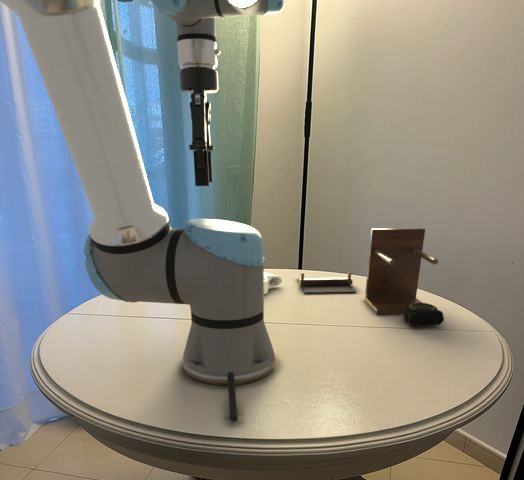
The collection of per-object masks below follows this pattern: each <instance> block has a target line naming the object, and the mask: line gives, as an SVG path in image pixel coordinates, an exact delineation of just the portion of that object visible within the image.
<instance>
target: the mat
mask: <svg viewBox="0 0 524 480" xmlns="http://www.w3.org/2000/svg"><path fill="white" fill-rule="evenodd" d="M300 278H301V277H300ZM300 278H297V280H298V281H299V280H300ZM300 287H301V288H302V291H303V293H304V294H305V295H313V294H314V295H317V294H321V295H322V294H356V293H357V291H356V290H355V288H354V287H353V286H352V285H315V286H300Z"/></svg>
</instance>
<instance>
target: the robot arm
mask: <svg viewBox="0 0 524 480" xmlns="http://www.w3.org/2000/svg"><path fill="white" fill-rule="evenodd" d="M150 2H151V3H152V4H153V6H154V7H155V8H157V10H158V11H159V12H160V13H161V14H162V15H163V16H166V17H168V18H169V19H171V20H172V21H174V22H175V25H176V37H177V41H176V42H177V43H176V47H177V60H178V66H179V67H180V68H181V69H180V70H179V73H178V74H179V86H180V90H181V91H182V92H183V93H184V94H185V93H186V94H190V100H191V101H189V108H190V109H189V111H190V120H191V140H192V141H191V144H189V145H188V146H189V151H193V152H192V153H193V170H194V186H195V187H209V186H210V183H213V165H212V164H213V162H212V152H213V151H214V150H215V146H214V145H212V141H211V128H210V125H211V113H212V107H211V102H210V101H209V100H207V94H215V93H217V92H218V91H219V73H218V71H217V70H216V68H217V67H218V57H217V56H219V55H220V54H221V50H220V49H219V48H217V18H227V17H244V16H245V17H246V16H247V17H248V16H262V17H265V16H267V15H273V14H279V13H281V12H282V11H283V10H284V7H285V4H286V0H150ZM0 3H1V4H2V5H4V6H6V7H7V8H8V9H10V10H11V11H12V12H14V13H15V15H16V16H17V17H18V19H19V21H20V23H21V26H22V29H23V31H24V34H25V36H26V39H27V42H28V44H29V47H30V49H31V52H32V55H33V57H34V61H35V64H36V66H37V69H38V71H39V73H40V74H39V75H40V76H41V79H42V82H43V84H44V87H45V90H46V92H47V95H48V98H49V100H50V103H51V106H52V107H53V110H54V114H55V116H56V119H57V121H58V124H59V126H60V129H61V132H62V134H63V137H64V140H65V142H66V144H67V148H68V150H69V153H70V156H71V158H72V161H73V163H74V166H75V168H76V171H77V173H78V176H79V179H80V181H81V185H82V188H83V190H84V192H85V196H86V198H87V201H88V203H89V206H90V208H91V211H92V213H93V216H94V218H93V220H92V222H91V223H90V225H89V228H88V235H87V236H86V239H85V243H84V246H83V247H84V248H83V255H84V256H85V257H86V259H85V260H84V265H85V266H84V267H85V270H86V274H87V276H88V278H89V281H90V282H91V284H92V286H94V288H95V289H96V290H97V291H98V292H99V293H100V294H101V295H102V296H104V297H105V298H108V299H109V300H116V301H122V302H125V303H138V302H139V303H156V304H157V303H158V304H173V305H188V306H189V308H190V318H191V319H190V321H191V324H190V328H189V332H188V336H187V339H186V344H185V347H184V351H183V354H182V355H183V357H182V364H183V365H182V366H183V370H184V373H185V374H186V375H187V376H188V377H190V378H191V379H193V380H194V381H195V380H196V381H198V382H200V383H205V384H208V385H217V386H227V390H228V405H229V406H228V407H229V420H230V422H233V423H235V422H238V419H239V418H238V407H237V395H236V385H243V384H248V383H253V382H256V381H258V380H261V379H263V378H264V377H267V376H268V375H269V374H271V373H272V371H273V370H274V368H275V364H276V355H275V351H274V347H273V344H272V341H271V338H270V336H269V332H268V329H267V326H266V323H265V317H264V315H265V310H264V309H265V308H264V307H265V305H264V303H265V299H264V298H265V294H264V272H265V264H266V260H265V257H264V256H265V255H264V241H263V237H262V235H261V233H260V232H259V230H257V229H256V228H255V227H253V226H250V225H248V224H245V223H242V222H238V221H232V220H226V219H219V218H218V219H217V218H191V219H189V220H187V221H186V222H185V224H184V227H183V228H173V227H172V226H171V223H170V219H169V215H168V213H167V211H166V209H164V208H163V207H161V206H160V205H158V204H156V203H155V201H154V199H153V195H152V191H151V188H150V184H149V180H148V177H147V172H146V169H145V165H144V161H143V158H142V155H141V151H140V147H139V143H138V140H137V135H136V132H135V128H134V125H133V120H132V118H131V117H132V116H131V112H130V110H129V109H130V108H129V106H128V102H127V98H126V94H125V92H124V91H125V90H124V87H123V84H122V80H121V77H120V73H119V69H118V65H117V61H116V57H115V54H114V51H113V47H112V42H111V38H110V35H109V31H108V28H107V25H106V20H105V17H104V13H103V10H102V5H101V3H102V0H0Z"/></svg>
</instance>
